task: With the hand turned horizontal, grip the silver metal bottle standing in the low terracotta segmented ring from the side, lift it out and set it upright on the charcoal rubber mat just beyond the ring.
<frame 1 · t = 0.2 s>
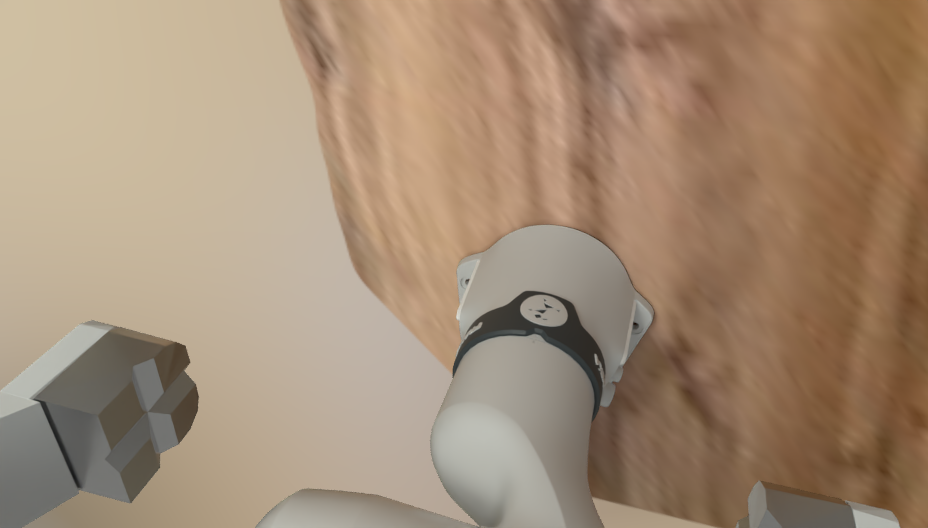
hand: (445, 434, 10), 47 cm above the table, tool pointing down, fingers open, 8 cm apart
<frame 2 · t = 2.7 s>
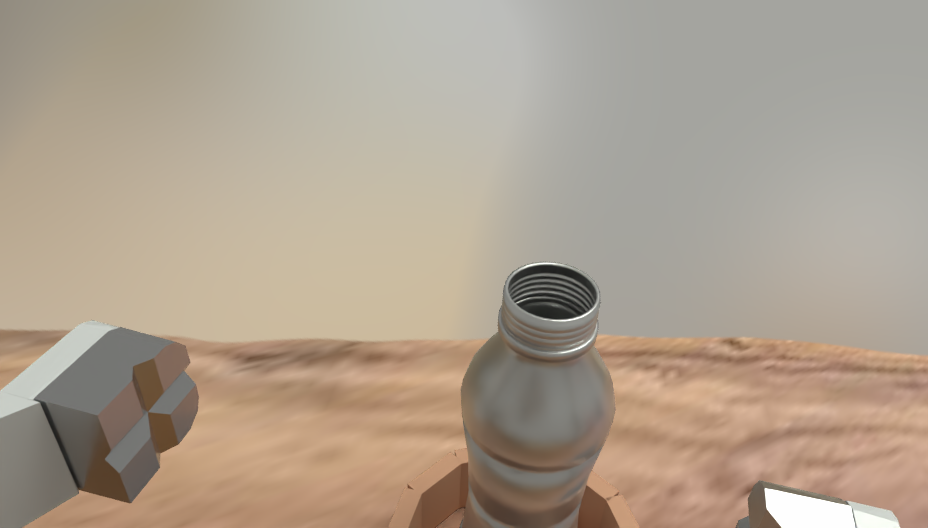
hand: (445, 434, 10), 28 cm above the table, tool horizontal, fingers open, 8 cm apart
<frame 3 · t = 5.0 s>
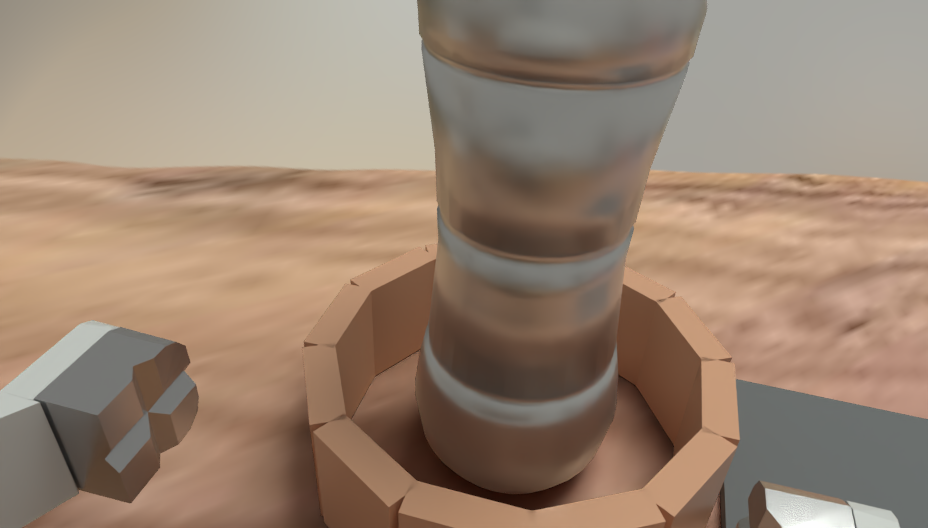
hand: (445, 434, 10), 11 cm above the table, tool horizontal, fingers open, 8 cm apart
silver metal bottle: (508, 443, 24), resting in terracotta segmented ring
terracotta segmented ring: (509, 439, 24), on the table
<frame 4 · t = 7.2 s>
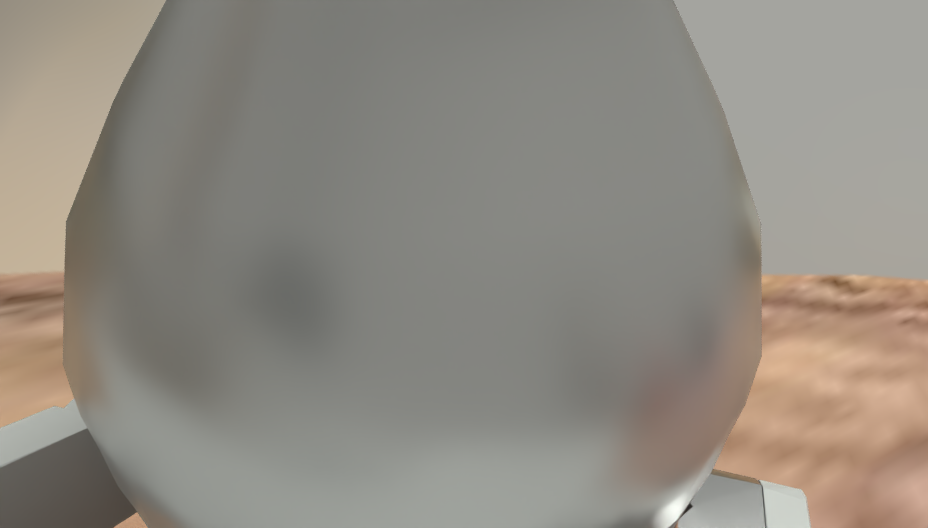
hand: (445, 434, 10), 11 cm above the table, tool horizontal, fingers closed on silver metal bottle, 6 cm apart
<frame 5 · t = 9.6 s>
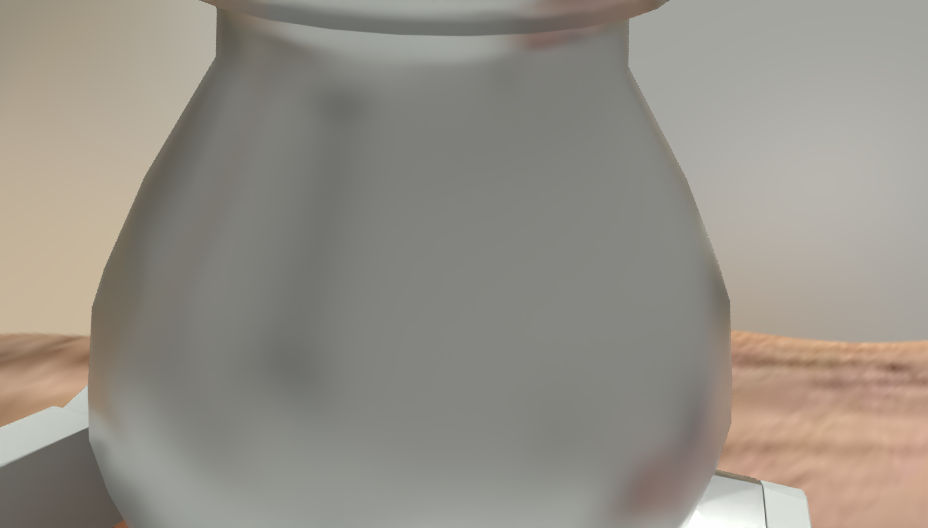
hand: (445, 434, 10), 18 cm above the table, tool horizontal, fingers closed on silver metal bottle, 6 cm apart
when the fingers open (13 cm above the table, at t = 11.8 s): silver metal bottle stays where it is, resting on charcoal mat.
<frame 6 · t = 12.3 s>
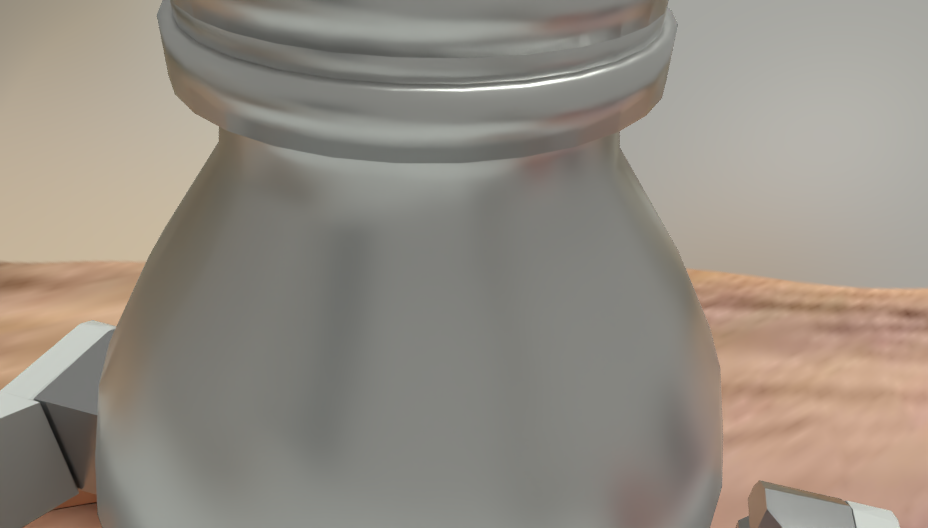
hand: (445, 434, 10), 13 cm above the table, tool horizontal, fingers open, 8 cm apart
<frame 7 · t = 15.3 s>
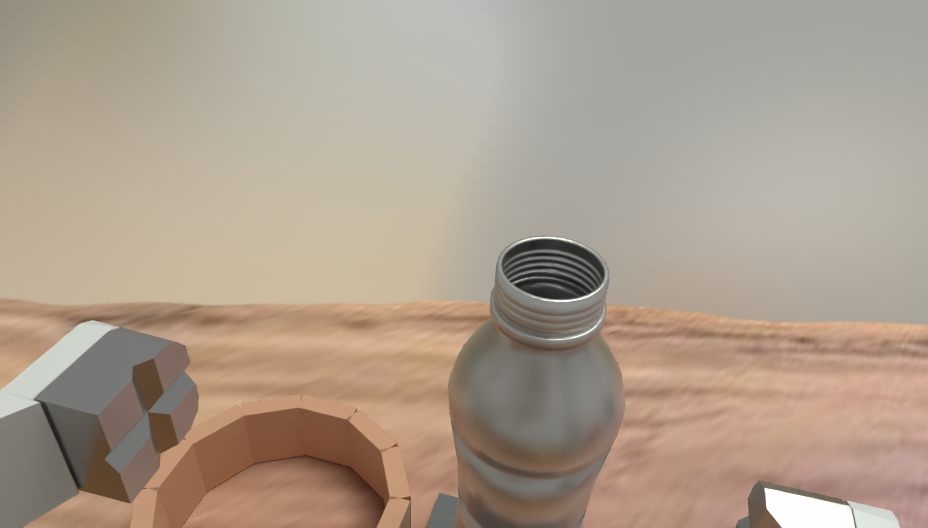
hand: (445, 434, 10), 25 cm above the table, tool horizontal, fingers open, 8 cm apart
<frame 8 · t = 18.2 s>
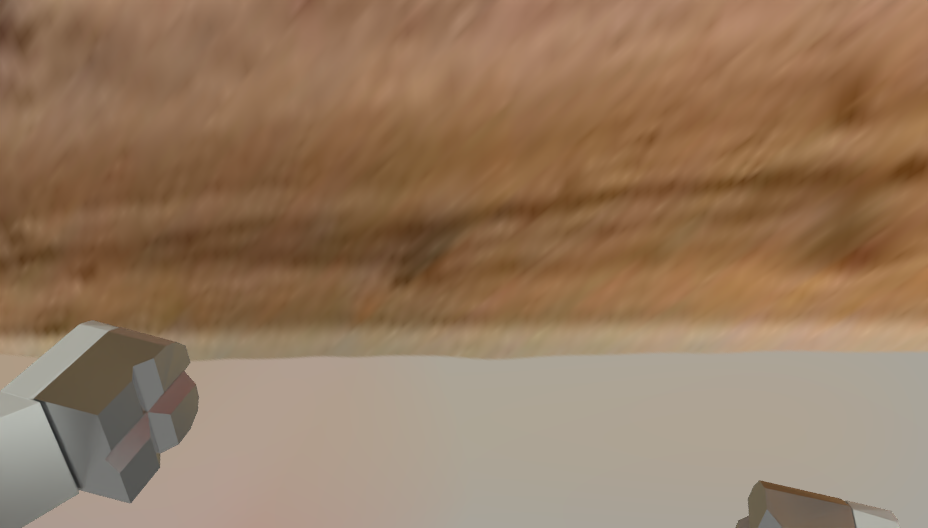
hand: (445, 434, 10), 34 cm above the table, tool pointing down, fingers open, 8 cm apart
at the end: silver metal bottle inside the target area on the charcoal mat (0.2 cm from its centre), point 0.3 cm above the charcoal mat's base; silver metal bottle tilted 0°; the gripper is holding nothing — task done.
